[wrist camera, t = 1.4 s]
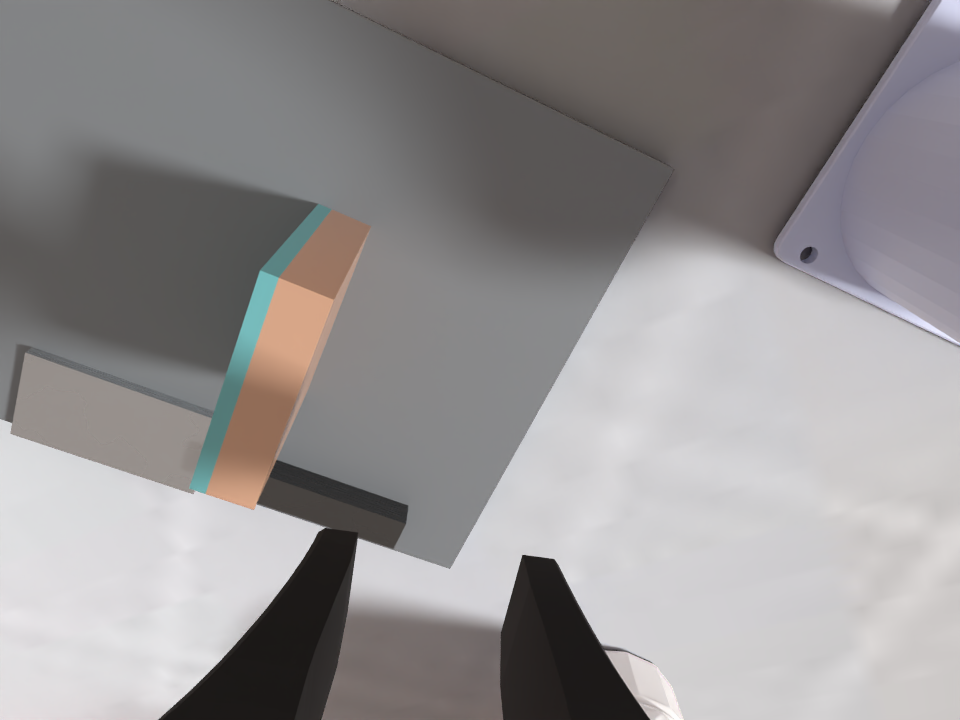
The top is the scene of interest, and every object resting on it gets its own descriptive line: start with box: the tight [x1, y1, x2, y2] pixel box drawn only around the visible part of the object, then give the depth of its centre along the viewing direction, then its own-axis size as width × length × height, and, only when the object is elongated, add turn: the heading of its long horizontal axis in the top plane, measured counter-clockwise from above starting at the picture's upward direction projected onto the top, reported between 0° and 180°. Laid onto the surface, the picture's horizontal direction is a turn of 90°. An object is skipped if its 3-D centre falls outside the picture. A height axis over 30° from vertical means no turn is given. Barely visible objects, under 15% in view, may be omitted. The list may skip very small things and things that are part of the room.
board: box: [0, 0, 674, 569], centre depth 21 cm, size 18×16×1 cm
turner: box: [11, 347, 408, 549], centre depth 23 cm, size 13×3×1 cm, turn 66°
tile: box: [189, 204, 371, 510], centre depth 18 cm, size 2×6×6 cm, turn 156°
